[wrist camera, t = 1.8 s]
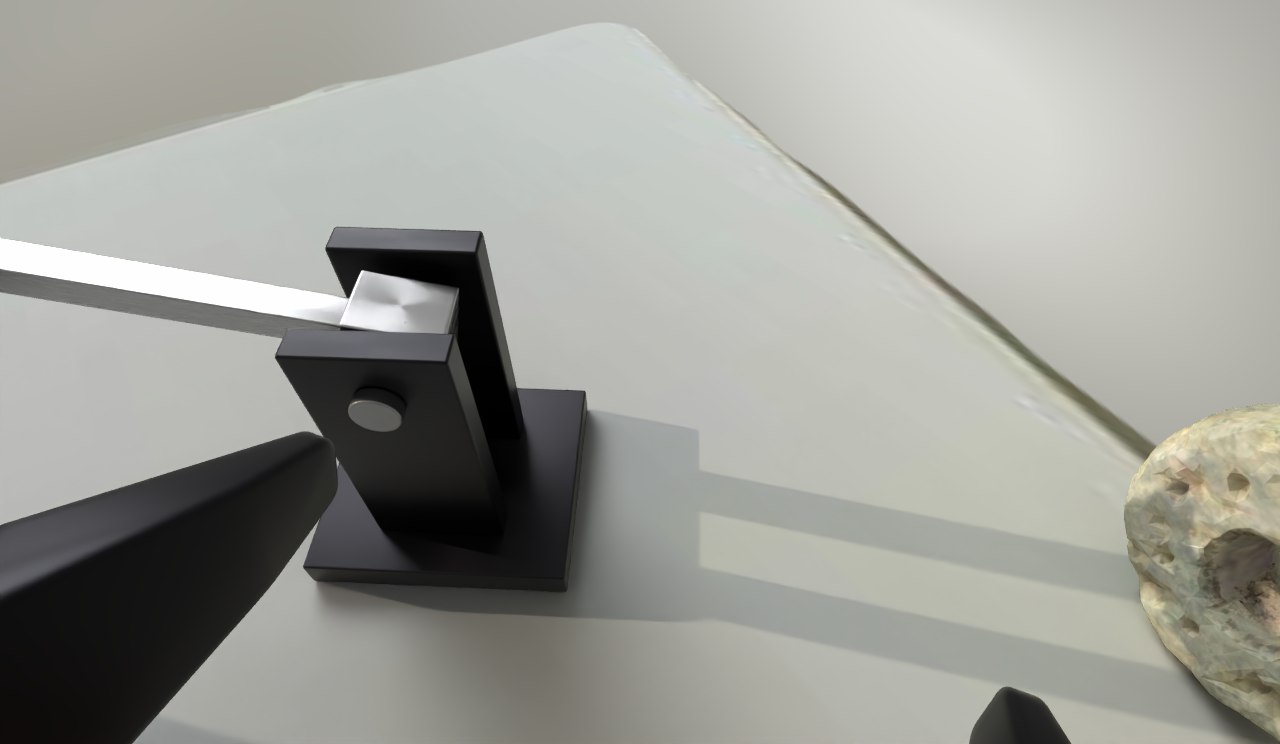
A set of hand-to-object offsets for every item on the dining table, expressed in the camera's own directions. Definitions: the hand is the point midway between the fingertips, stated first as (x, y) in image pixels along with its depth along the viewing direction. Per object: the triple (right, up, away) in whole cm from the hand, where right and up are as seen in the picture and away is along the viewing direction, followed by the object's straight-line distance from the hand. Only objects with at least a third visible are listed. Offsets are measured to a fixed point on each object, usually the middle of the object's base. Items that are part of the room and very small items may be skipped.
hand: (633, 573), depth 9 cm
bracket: (-7, -2, +19) cm, 20 cm away
